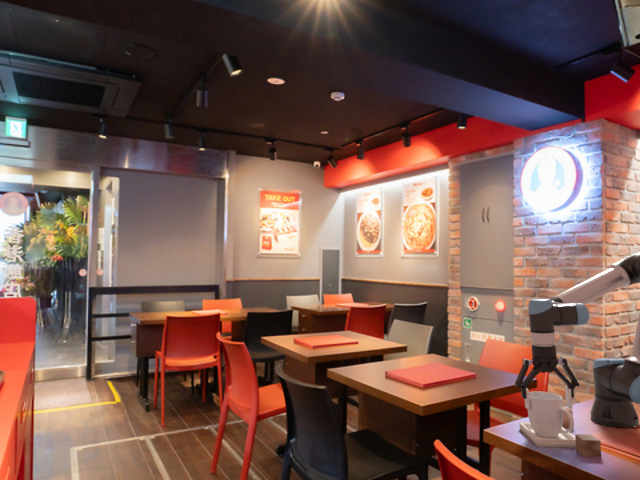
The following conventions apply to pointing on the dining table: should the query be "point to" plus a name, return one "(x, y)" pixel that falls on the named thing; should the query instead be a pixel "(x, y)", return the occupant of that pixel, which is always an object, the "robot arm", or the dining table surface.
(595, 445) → the walnut block
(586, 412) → the dining table surface
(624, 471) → the dining table surface
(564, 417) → the brown short cylinder
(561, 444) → the tray
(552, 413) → the mug
